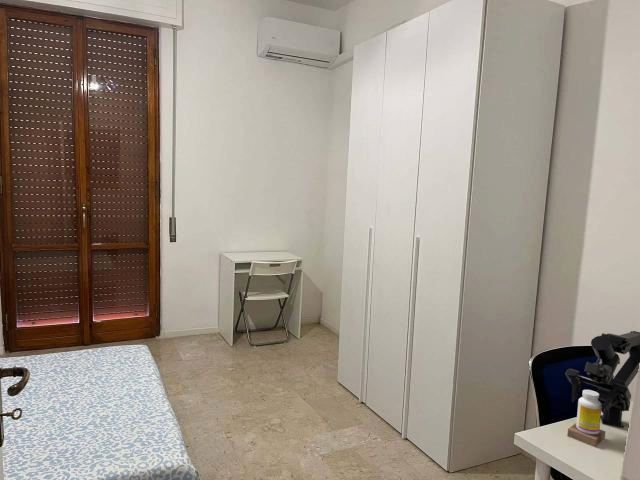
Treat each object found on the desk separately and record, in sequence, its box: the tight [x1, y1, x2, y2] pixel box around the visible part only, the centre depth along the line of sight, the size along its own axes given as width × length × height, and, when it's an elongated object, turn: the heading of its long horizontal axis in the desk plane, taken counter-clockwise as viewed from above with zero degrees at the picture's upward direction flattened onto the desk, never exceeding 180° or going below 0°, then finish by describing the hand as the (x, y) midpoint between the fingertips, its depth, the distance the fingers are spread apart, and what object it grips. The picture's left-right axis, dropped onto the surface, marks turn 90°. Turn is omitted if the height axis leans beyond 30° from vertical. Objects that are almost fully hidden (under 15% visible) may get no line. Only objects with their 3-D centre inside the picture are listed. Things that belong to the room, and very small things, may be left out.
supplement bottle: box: [575, 389, 603, 434], centre depth 152 cm, size 7×7×13 cm
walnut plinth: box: [566, 422, 607, 448], centre depth 152 cm, size 8×8×2 cm
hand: (586, 406), depth 151 cm, fingers open, 9 cm apart
